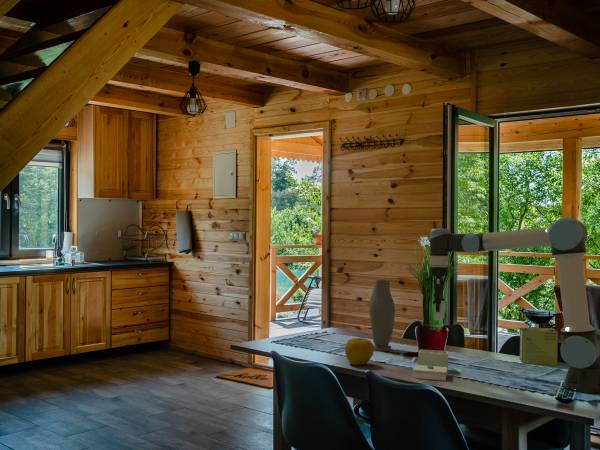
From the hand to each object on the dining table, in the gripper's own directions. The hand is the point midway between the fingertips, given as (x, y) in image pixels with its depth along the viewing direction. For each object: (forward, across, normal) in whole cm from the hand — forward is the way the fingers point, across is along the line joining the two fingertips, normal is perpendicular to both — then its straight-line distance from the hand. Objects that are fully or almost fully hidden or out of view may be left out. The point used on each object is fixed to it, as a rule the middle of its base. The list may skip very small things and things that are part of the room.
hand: (438, 318), depth 261 cm
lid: (+21, -2, +3) cm, 22 cm away
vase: (+23, +56, +31) cm, 68 cm away
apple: (+23, +12, +35) cm, 44 cm away
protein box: (+24, +49, -43) cm, 69 cm away
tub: (+23, +13, +3) cm, 27 cm away
